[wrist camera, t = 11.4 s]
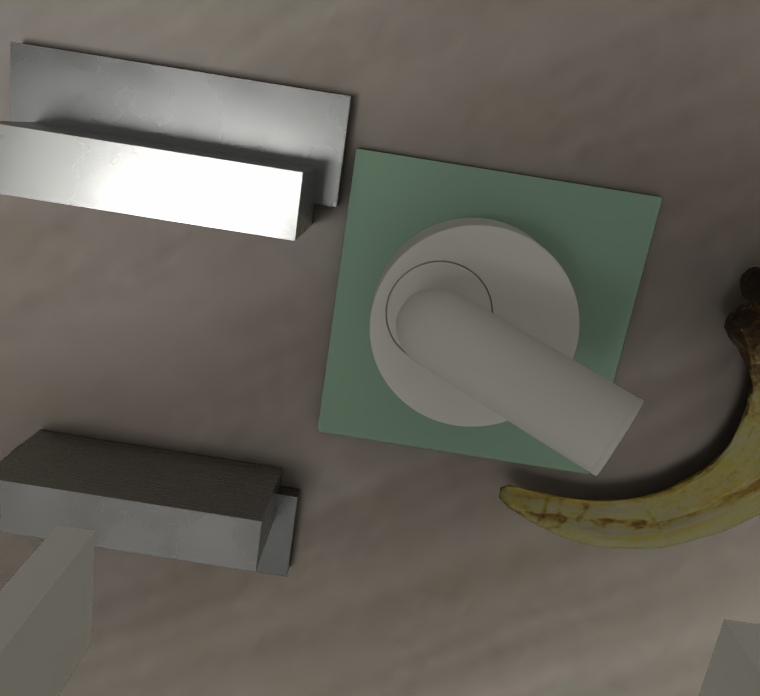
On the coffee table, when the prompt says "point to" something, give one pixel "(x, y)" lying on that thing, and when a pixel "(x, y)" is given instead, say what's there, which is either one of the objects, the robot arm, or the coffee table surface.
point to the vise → (179, 204)
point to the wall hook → (493, 340)
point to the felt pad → (491, 201)
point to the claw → (685, 499)
